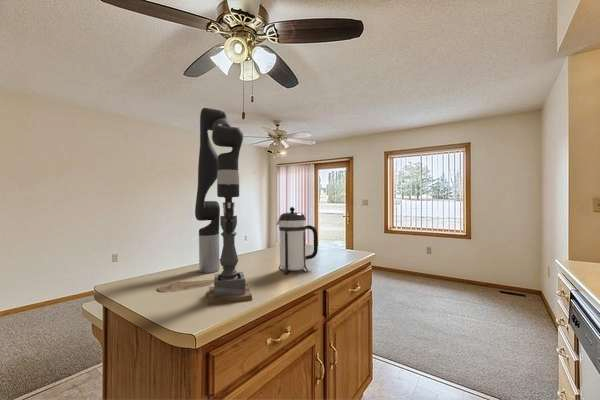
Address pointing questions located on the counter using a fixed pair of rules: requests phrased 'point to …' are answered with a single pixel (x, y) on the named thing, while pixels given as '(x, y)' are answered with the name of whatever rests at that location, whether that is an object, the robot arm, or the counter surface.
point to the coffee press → (294, 241)
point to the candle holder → (228, 251)
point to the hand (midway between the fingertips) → (228, 231)
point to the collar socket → (229, 290)
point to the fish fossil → (184, 285)
